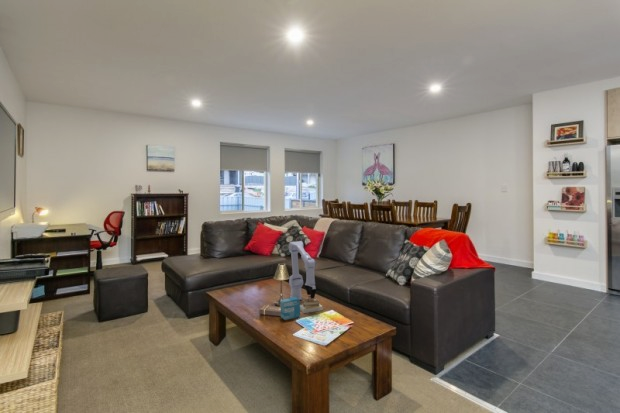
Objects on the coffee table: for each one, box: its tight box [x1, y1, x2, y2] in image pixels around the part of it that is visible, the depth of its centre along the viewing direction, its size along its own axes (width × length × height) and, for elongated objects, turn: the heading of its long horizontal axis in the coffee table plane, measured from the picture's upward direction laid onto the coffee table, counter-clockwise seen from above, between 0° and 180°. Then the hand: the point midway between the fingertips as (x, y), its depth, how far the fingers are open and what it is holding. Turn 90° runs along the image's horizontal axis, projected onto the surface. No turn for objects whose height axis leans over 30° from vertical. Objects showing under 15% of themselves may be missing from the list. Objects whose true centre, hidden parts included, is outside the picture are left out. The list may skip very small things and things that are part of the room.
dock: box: [300, 303, 324, 314], centre depth 217 cm, size 9×14×3 cm, turn 109°
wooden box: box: [302, 297, 320, 308], centre depth 217 cm, size 6×10×4 cm, turn 109°
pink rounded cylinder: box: [307, 295, 315, 302], centre depth 217 cm, size 4×4×3 cm
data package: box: [280, 297, 301, 321], centre depth 204 cm, size 12×4×12 cm, turn 117°
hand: (310, 296), depth 217 cm, fingers open, 7 cm apart
